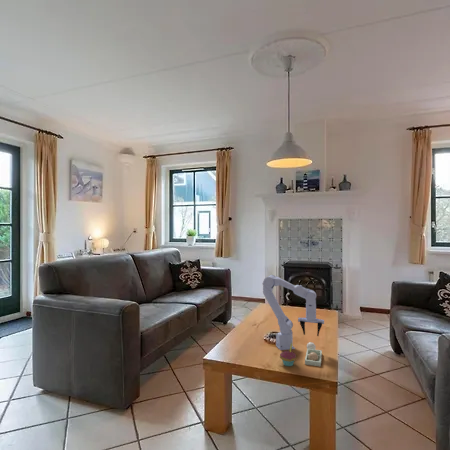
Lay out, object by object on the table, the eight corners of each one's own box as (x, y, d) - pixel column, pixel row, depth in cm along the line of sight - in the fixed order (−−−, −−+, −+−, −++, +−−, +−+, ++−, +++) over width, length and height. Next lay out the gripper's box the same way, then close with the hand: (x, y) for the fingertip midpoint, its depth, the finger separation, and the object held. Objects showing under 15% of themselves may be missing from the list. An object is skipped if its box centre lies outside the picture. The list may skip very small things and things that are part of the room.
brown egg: (311, 364, 162) (311, 354, 162) (306, 360, 167) (306, 351, 167) (319, 363, 163) (319, 354, 163) (315, 359, 168) (315, 350, 168)
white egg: (309, 353, 178) (309, 344, 178) (305, 349, 182) (305, 341, 182) (317, 352, 179) (317, 343, 179) (313, 348, 183) (313, 340, 183)
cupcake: (294, 361, 167) (294, 339, 167) (298, 368, 159) (298, 345, 159) (278, 361, 167) (278, 339, 167) (281, 368, 159) (281, 345, 159)
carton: (320, 367, 160) (320, 362, 160) (304, 365, 163) (304, 360, 163) (321, 354, 175) (321, 350, 175) (307, 352, 178) (307, 348, 178)
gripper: (324, 310, 182) (324, 333, 182) (298, 308, 187) (299, 331, 187) (323, 314, 175) (324, 338, 175) (297, 312, 180) (297, 335, 180)
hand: (311, 334), depth 181 cm, fingers open, 7 cm apart
